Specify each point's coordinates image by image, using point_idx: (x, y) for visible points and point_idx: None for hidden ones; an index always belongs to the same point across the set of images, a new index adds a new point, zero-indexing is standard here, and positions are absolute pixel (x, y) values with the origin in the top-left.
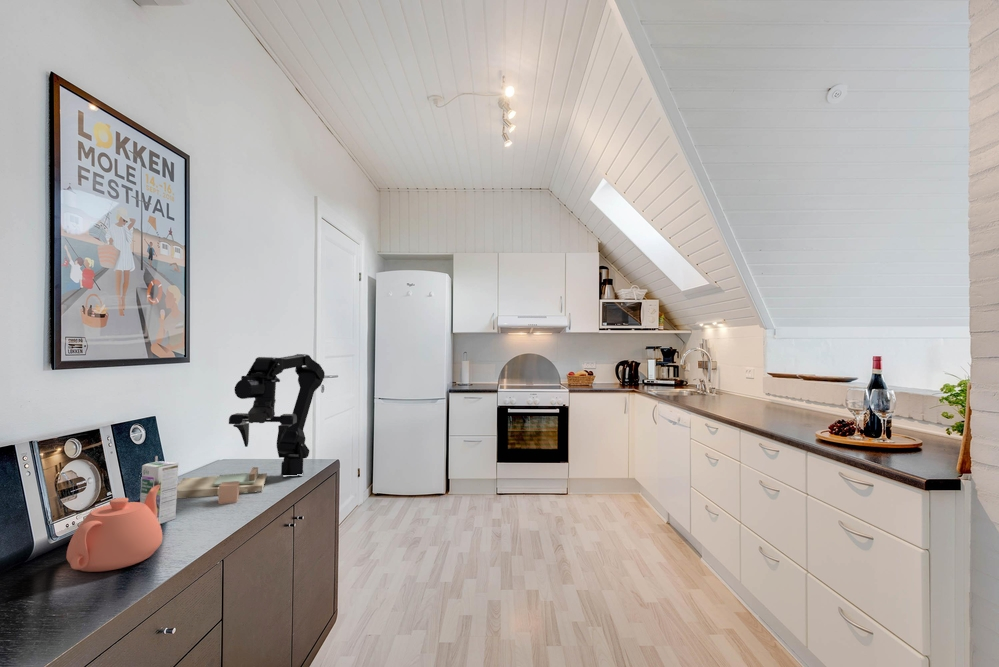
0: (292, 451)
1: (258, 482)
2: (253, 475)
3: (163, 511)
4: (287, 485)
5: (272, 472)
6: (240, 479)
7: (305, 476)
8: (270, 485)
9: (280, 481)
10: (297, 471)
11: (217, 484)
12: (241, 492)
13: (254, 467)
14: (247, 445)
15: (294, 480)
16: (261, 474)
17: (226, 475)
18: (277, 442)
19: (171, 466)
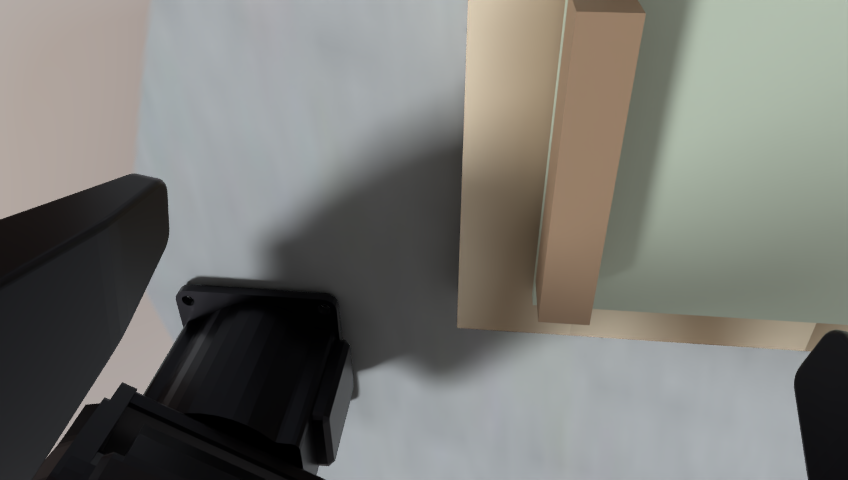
0: (153, 443)
1: (521, 16)
2: (589, 6)
3: None
4: (251, 50)
5: (430, 447)
6: (720, 90)
7: (162, 288)
8: (411, 98)
9: (338, 204)
10: (210, 328)
11: None
12: None
13: (572, 321)
14: (807, 379)
15: (224, 200)
16: (501, 307)
17: (831, 289)
18: (86, 216)
19: None
